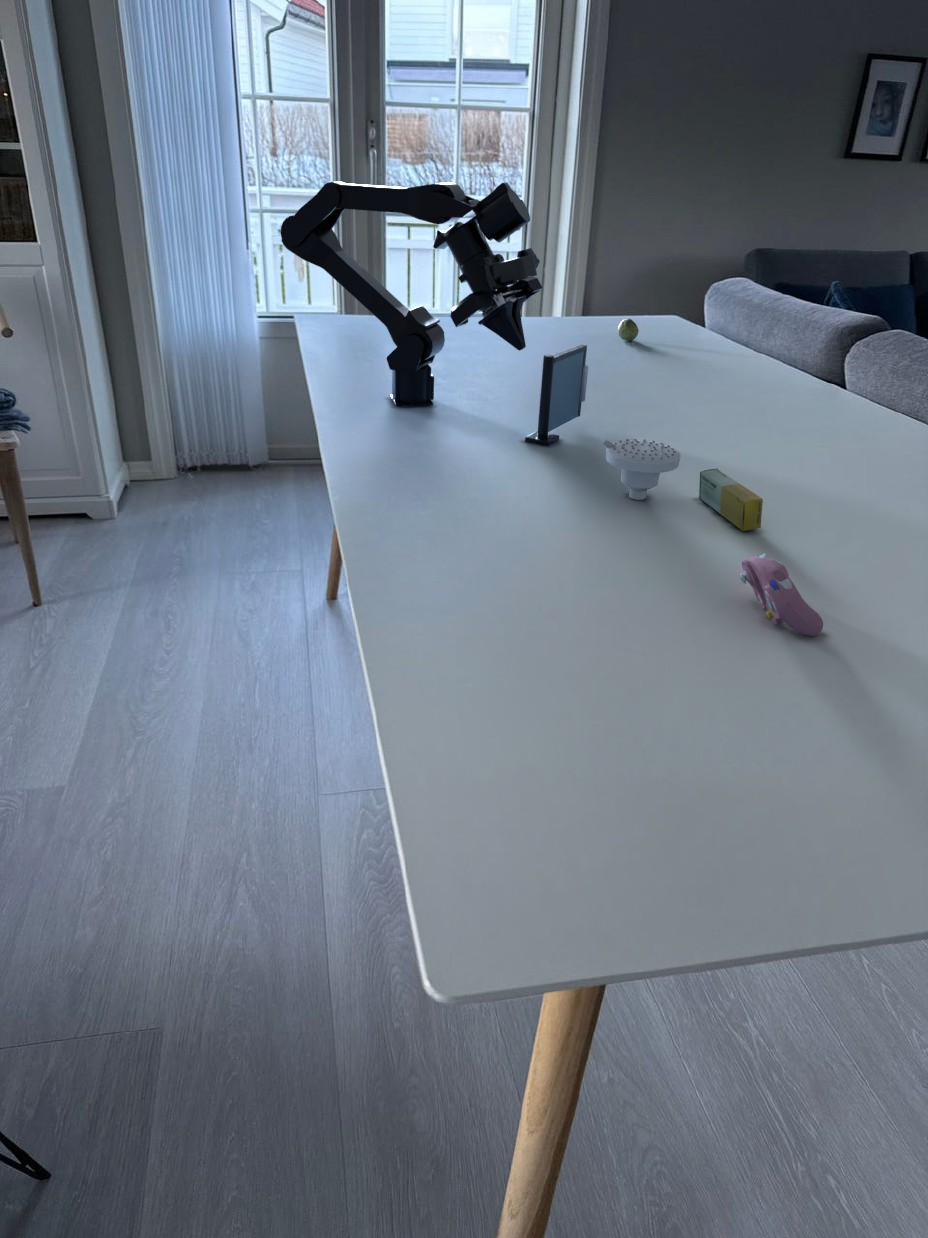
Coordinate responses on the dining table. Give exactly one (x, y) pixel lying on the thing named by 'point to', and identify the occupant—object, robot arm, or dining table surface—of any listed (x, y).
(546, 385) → the hinge post
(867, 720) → the dining table surface
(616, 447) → the showerhead
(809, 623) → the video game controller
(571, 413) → the shower door
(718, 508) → the medication box
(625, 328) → the lime
